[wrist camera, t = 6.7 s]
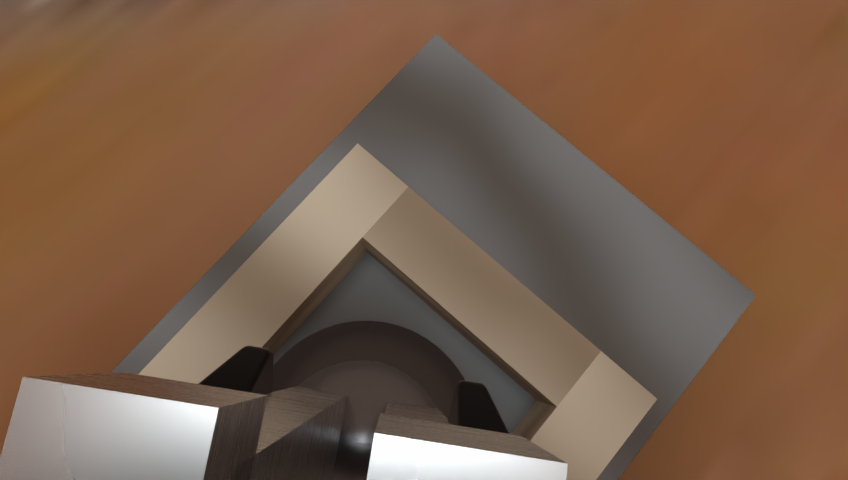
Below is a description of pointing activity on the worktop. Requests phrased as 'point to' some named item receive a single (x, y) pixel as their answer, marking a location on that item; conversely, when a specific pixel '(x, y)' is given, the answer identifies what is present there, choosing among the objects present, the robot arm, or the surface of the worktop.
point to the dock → (515, 231)
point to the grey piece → (271, 421)
